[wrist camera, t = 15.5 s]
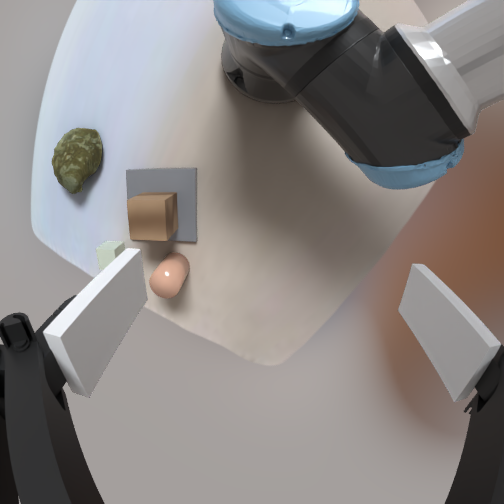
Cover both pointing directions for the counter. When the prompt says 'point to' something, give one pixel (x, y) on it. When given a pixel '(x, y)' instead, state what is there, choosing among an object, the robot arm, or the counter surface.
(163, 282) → the pink glossy pebble
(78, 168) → the seashell
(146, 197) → the walnut cube
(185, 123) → the counter surface
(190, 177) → the coaster
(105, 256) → the sage block
